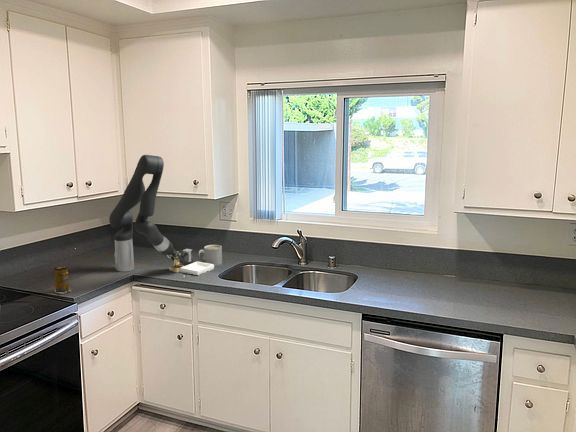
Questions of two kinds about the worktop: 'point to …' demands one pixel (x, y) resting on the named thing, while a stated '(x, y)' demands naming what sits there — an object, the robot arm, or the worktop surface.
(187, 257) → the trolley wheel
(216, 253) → the coffee mug
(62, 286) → the condiment
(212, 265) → the tray
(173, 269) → the stop block
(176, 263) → the pin
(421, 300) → the worktop surface
